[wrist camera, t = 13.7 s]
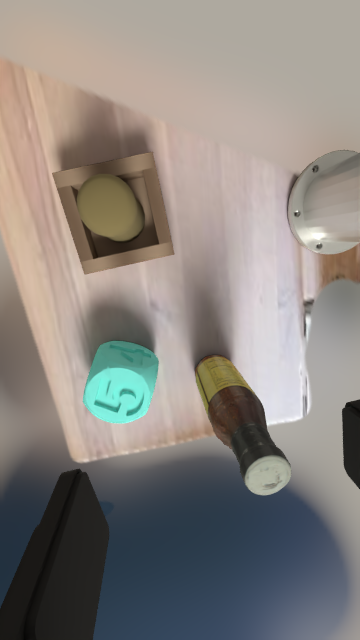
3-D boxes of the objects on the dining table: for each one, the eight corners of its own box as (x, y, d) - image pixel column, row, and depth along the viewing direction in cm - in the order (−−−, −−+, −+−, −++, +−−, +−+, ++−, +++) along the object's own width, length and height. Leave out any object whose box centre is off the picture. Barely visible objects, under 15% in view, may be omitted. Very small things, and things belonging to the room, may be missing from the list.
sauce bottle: (223, 392, 41) (283, 518, 22) (187, 382, 40) (217, 505, 21) (239, 356, 40) (318, 458, 21) (202, 345, 38) (249, 441, 19)
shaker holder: (152, 162, 31) (152, 151, 28) (172, 253, 34) (174, 254, 31) (64, 181, 31) (52, 173, 27) (92, 271, 34) (84, 274, 30)
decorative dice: (105, 335, 37) (91, 358, 29) (158, 348, 38) (159, 374, 30) (93, 383, 39) (77, 417, 31) (144, 394, 40) (142, 429, 32)
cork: (108, 181, 31) (84, 146, 20) (153, 208, 32) (152, 189, 21) (88, 227, 32) (54, 218, 21) (132, 252, 33) (121, 254, 22)
